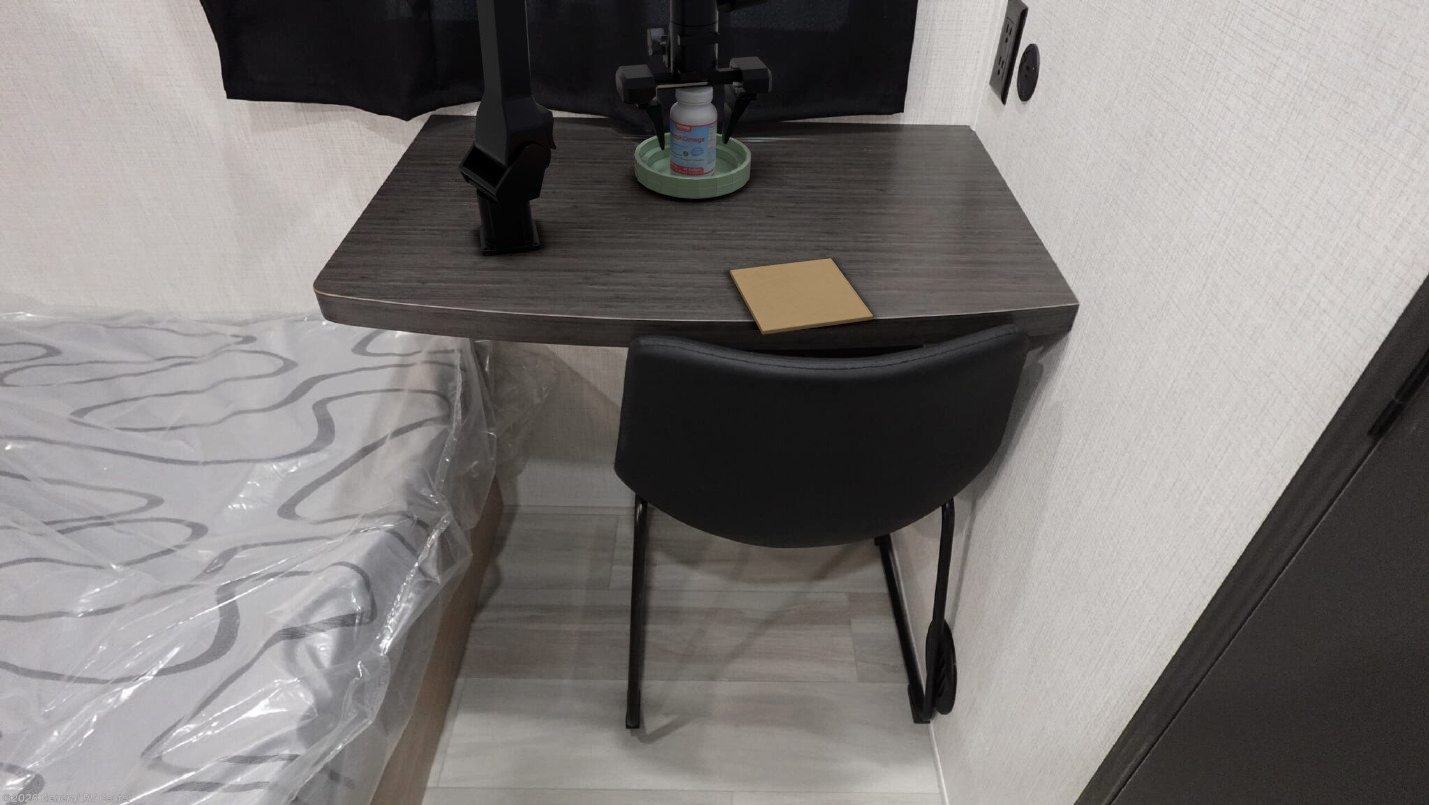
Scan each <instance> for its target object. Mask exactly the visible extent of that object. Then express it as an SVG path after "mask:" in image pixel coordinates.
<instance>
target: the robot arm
mask: <svg viewBox="0 0 1429 805" xmlns="http://www.w3.org/2000/svg"><path fill="white" fill-rule="evenodd" d="M768 2H769V0H669V22H668V34H666V33H665V29H664V28H663V27H656V28H647V30H646V31H647V33H646V34H647V51H648V56H649V57H659V56H662V60H663V61H662V63H663V64H665V67H666V68H667V69H670V71H669V72H668V71H667V72H657V73H656V72H655V73H653V72H652V71H651V69H650V67H649V65H648V64H635V65H634V64H633V65H621V66H619V67H618V68H617V70H616V72H615V84H616V85H615V86H616V87H615V88H616V91H617V92H618V94H619V96H620V98H621V101H622V103H623V104H626V105H635V107H636V108H637V109H638V110H639V111H640V110H641V111H646V113H647V115H648V117H649V120H650V123H651V126H652V129H653V132H654V136H656V137H657V140H658V143H659V146H660V148H661V150H664V149H665V126H664V125H665V124H664V115H663V104H662V102H661V101H660V99H659V97H658V91H664V90H676V89H678V88H691V87H703V86H712V87H713V86H714V87H715V86H723V90H724V91H723V92H724V103H723V104H724V107H723V115H722V123H721V124H722V125H721V135H722V142H723V144H727V143H728V141H729V139H730V137H731V138H732V134H733V133H734V131H735V129H736V126H737V125H738V123H739V121H740V119H741V118H742V116H743V114H744V112H745V111H746V109H747V108H748V106H749V105H750V103H751V102H752V101H757V100H758V94H770V93H771V92H772V85H773V75H772V71H771V70H770V69H769V67H768V66H766V64H765V63H764V62H763V61H762V60H761V59H760V58H759V57H758V56H745V57H743V56H742V57H732V58H731V59H730V62H729V67H724V68H723V67H722V68H718V45H719V44H720V38H721V34H720V33H719V11H720V12H722V13H725V14H727V13H728V14H729V13H734V12H737V11H742V10H746V9H750V8H751V9H752V8H755V7H759V6H762V5H765V4H767V3H768ZM476 6H477V18H478V19H477V20H478V29H479V39H480V49H481V59H482V70H483V80H484V92H483V94H482V97H481V100H480V103H479V105H478V107H477V110H476V113H475V127H474V128H475V129H474V141H473V142H472V144H471V145H470V147H469V149H468V150H467V152H466V154H465V155H464V157H463V158H462V160H461V161H460V163H459V165H458V166H457V168H458V171H459V174H461V177H462V178H463V180H464V181H465V182H466V183H467V184H470V185H471V186H473V187H474V188H475V189H476V191H475V193H476V194H475V195H476V199H477V205H478V212H479V218H480V222H481V223H480V224H479V225H478V231H479V239H480V247H481V248H480V249H481V253H482V254H483V255H493V254H500V253H501V254H503V253H511V252H520V251H531V250H538V249H540V248H541V243H540V238H539V235H538V234H539V233H538V230H537V226H536V221H535V220H534V219H533V215H532V207H531V201H533V200H536V199H539V198H540V196H541V193H542V187H543V183H544V177H545V174H546V170H547V169H548V168H549V166H550V164H551V161H552V150H557V145H556V143H555V140H554V122H555V120H554V119H555V118H554V113H553V111H552V110H550V109H548V108H547V107H545V106H543V105H541V104H539V103H538V102H537V101H536V99H535V98H534V94H533V90H532V77H531V76H532V74H531V62H530V60H531V59H530V45H529V30H528V29H529V28H528V14H527V1H526V0H476Z"/></svg>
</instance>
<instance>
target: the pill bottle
mask: <svg viewBox="0 0 1429 805" xmlns="http://www.w3.org/2000/svg"><path fill="white" fill-rule="evenodd" d="M674 97H675V100H676V102H675V103H674V104H672V106H671V108H670V111H669V133H670V171H671V173H672V174H673V175H675V176H680V177H707V176H711V175H712V174H713V173H714V171H715V158H716V136H717V134H718V110H717V108H716V106H715V105H714V104H713V103H712V101H713V98H714V89H713V86H703V87H691V88H678V89H675V96H674Z"/></svg>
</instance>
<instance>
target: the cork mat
mask: <svg viewBox="0 0 1429 805" xmlns="http://www.w3.org/2000/svg"><path fill="white" fill-rule="evenodd" d="M729 275H730V278H731V279H732V281H733V283H734V284H735V286H736V288H737V290H738V292H739V294H740V296H741V298H742V300H743V302H744V303H745V305H746V307H747V308H748V310H749V312H750V314H751V316H752V318H753V320H754V321H755V323H756V326H757V327H758V329H759V331H760V333H761V334H762V335H771V334H778V333H785V332H793V331H799V330H808V329H815V328H820V327H821V328H822V327H828V326H835V325H836V326H837V325H842V324H850V323H851V324H852V323H857V322H866V321H873V319H874V315H873V313H872V312H871V311H870V310H869V308H868V306H867V305H866V304H865V303H864V301H863V300H862V299H861V297H860V296H859V294H858V293H857V292H856V290H855V289H854V288H853V286H852V285H851V283H850V282H849V281H848V280H847V278H846V277H845V275H844V274H843V272H841V270H840V269H839V267H838V266H837V264H836V263H835V262H834V260H833V259H832V258H822V259H814V260H805V261H795V262H789V263H779V264H771V265H762V266H754V267H747V268H737V269H729Z"/></svg>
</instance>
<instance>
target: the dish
mask: <svg viewBox="0 0 1429 805" xmlns="http://www.w3.org/2000/svg"><path fill="white" fill-rule="evenodd" d="M664 134H665V149H664V150H661V148H660V146H659V143H658V140H657V137H656V135H654V136H651V137H649V138H647V139H645V140H643V141H642V142H640V143H639V144H638V145H637V147H636V148H635V151H634V154H633V158H634V160H633V162H634V163H633V164H634V175H635V177H636V179H637V181H638V183H640V184H641V185H642V186H644V187H645V188H646V189H648V190H651V191H653V192H656V193H658V194H661V195H666V196H669V197H673V198H678V199H690V200H697V199H699V200H700V199H710V198H716V197H721V196H724V195H728V194H731V193H733V192H736V191H737V190H739V189H741V188H743V187H744V186H745V185H746V184H747V183H748V181H749V180H750V179H751V163H752V162H751V161H752V160H751V159H752V152H751V151H750V149H749V148H748V146H747V145H746V144H745V143H742V142H741V141H739V140H738V139H736V138H735V137H734V138H733V137H732V136H731V137H730V139H729V141H728V143H727V144H723V142H722V133H721V134H720V133H717V136H716V158H715V171H714V173H713V174H712V175H711V176H707V177H680V176H675V175H673V174H672V173H671V171H670V132H664Z"/></svg>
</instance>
